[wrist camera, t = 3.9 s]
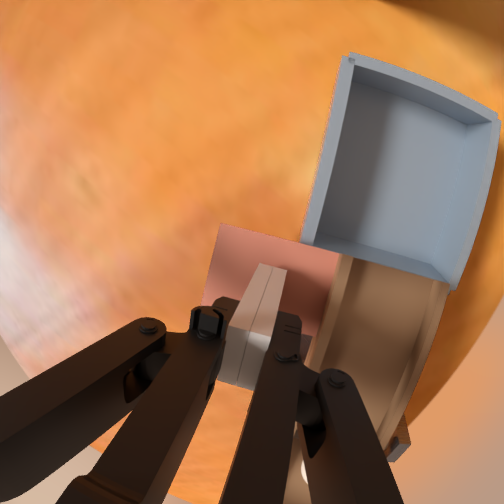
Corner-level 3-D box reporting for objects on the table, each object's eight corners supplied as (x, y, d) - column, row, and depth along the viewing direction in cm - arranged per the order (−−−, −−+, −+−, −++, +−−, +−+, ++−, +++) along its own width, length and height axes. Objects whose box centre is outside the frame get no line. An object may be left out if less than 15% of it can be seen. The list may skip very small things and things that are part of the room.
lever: (224, 224, 19) (212, 219, 16) (443, 282, 17) (466, 288, 14) (166, 493, 20) (154, 514, 17) (324, 527, 18) (325, 550, 15)
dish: (337, 69, 19) (343, 50, 14) (472, 120, 17) (502, 115, 13) (299, 236, 23) (296, 254, 19) (432, 272, 22) (452, 296, 17)
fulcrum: (274, 318, 25) (252, 401, 16) (400, 347, 24) (427, 428, 15) (241, 425, 31) (219, 495, 21) (339, 445, 29) (338, 515, 20)
